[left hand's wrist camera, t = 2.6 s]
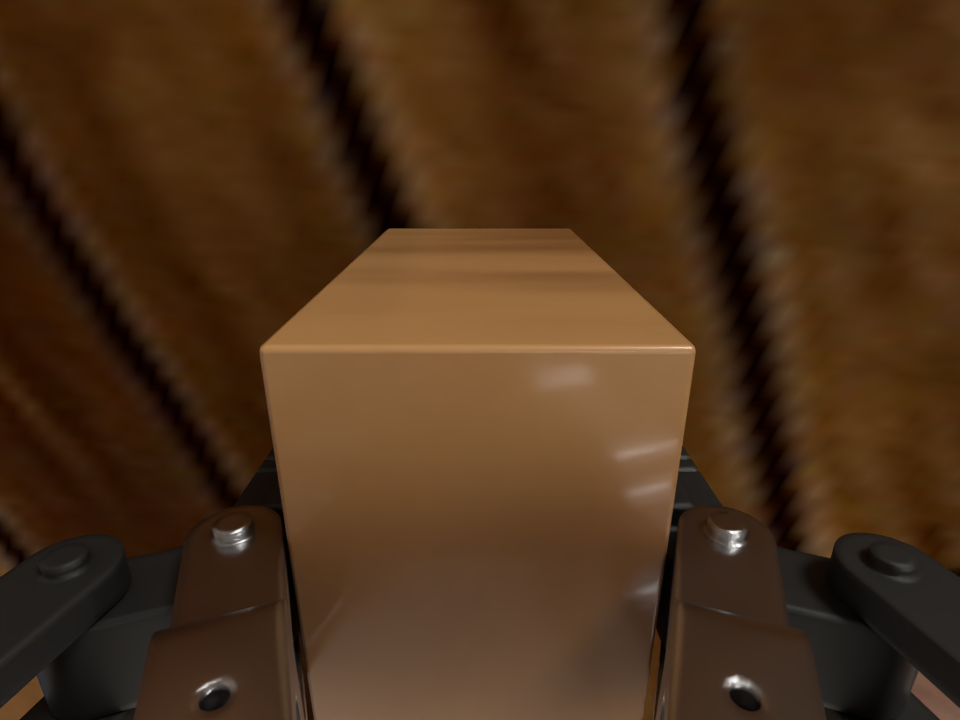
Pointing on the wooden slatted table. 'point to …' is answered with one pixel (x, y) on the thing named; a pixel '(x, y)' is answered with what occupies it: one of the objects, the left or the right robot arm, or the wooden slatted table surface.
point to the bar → (477, 478)
